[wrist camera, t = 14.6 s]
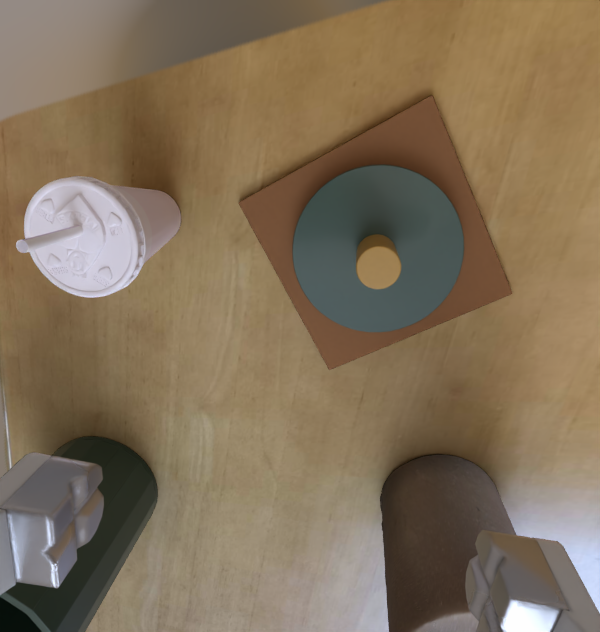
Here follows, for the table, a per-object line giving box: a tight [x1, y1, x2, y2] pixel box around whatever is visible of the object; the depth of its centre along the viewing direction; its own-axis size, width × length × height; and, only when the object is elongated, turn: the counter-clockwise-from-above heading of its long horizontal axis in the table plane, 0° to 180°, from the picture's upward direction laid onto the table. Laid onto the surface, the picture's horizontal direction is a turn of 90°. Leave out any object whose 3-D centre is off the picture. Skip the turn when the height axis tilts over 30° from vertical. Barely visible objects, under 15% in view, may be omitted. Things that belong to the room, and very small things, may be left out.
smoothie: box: [16, 176, 181, 297], centre depth 26 cm, size 6×6×14 cm
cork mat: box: [239, 95, 512, 370], centre depth 32 cm, size 14×14×1 cm
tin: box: [0, 437, 158, 632], centre depth 35 cm, size 10×10×14 cm
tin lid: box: [292, 164, 464, 332], centre depth 29 cm, size 11×11×5 cm
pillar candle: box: [380, 455, 516, 632], centre depth 31 cm, size 10×10×15 cm
